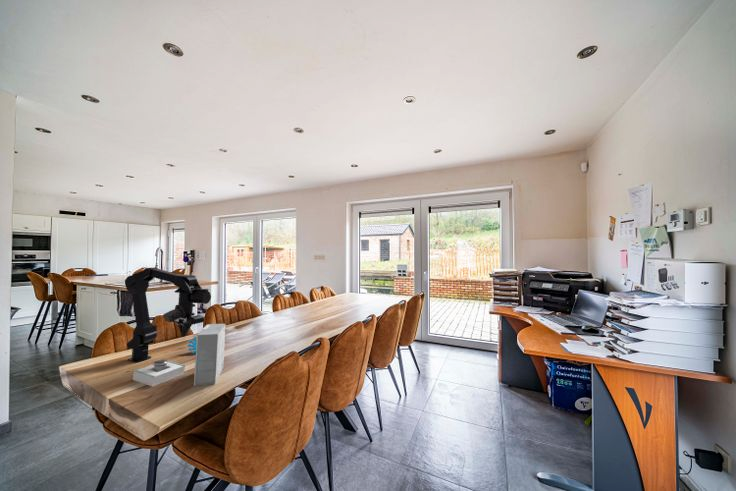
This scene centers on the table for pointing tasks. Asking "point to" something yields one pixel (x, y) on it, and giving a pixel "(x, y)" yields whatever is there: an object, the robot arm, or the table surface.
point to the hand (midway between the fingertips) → (183, 336)
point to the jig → (158, 374)
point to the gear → (192, 345)
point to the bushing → (160, 365)
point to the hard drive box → (209, 354)
